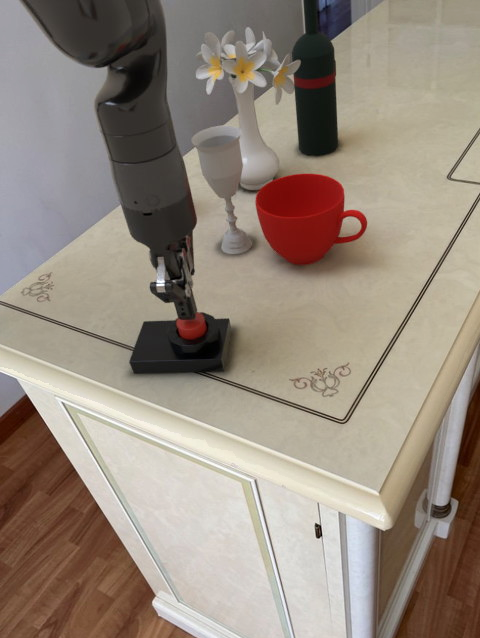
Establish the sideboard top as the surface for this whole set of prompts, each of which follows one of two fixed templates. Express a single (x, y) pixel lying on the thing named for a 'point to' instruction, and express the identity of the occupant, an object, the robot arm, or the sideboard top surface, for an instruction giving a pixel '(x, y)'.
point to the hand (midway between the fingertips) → (188, 316)
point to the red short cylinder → (192, 327)
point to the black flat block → (181, 348)
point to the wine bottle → (315, 88)
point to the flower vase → (248, 94)
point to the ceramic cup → (304, 216)
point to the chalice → (223, 176)
